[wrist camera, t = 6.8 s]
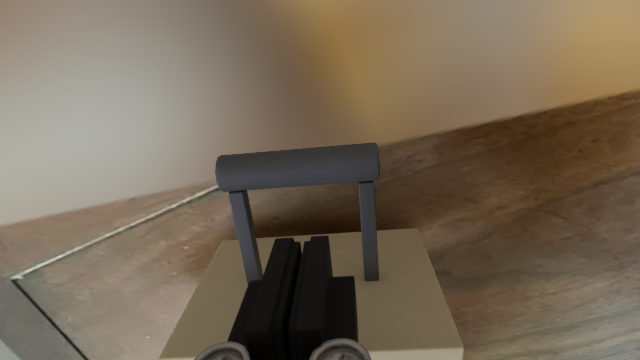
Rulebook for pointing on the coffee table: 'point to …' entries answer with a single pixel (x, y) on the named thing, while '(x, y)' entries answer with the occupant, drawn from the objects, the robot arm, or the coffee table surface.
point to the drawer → (346, 256)
